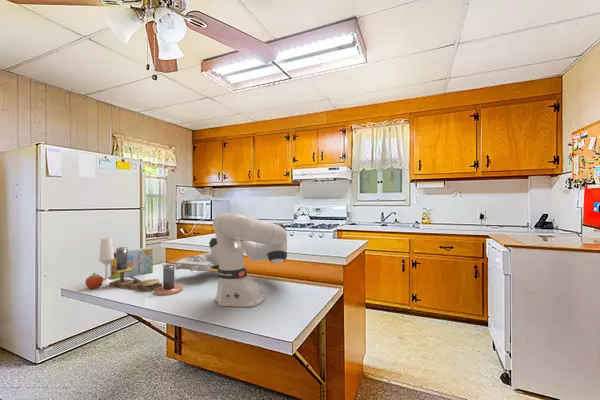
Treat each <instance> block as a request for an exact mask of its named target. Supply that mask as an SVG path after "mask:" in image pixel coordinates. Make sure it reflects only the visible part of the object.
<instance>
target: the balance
mask: <svg viewBox="0 0 600 400" xmlns="http://www.w3.org/2000/svg"><path fill="white" fill-rule="evenodd" d="M131 270H132V267H128V269H126V270H116V268H115V269H113V270H112V272H113V273H120V278H118V279H117V280H112V281H113V282H110V283H109V284H108V285H109V287H110V286H111V287H112V288H120V289H126V288H127V289H128V290H134V291H143V292H154V290H155V289H156V288H158V287H160V286H163V282H160V280H159V279H158V278H150V279H145V280H140V279H139V278H137V277H134V276H131V275H130V276H128V278H129V279H127V278H125V277H124V272H128V271H131ZM127 289H126V290H127Z"/></svg>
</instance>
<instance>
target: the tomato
mask: <svg viewBox="0 0 600 400" xmlns="http://www.w3.org/2000/svg"><path fill="white" fill-rule="evenodd" d="M103 281H104V277H103V276H102V275H99V274H97V273H96V272H93V273H92V274H91V275H89V276H88V277H87V278H86V279H85V281H84V282H85V285H86V287H87V288H88V289H89V290H98V289H100V287H101V286H102V285H103V284H102V283H103ZM97 288H98V289H97Z"/></svg>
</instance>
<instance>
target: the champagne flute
mask: <svg viewBox="0 0 600 400" xmlns="http://www.w3.org/2000/svg"><path fill="white" fill-rule="evenodd" d="M113 251H114V247H113V238H112V237H102V238H101V239H100V246H99V255H98V256H99V258H98V261H99V262H100V263H101V264H103V265H104V267H105V268H104V269H105V270H104V273H105V278H104V279H103V283H102V285H108V284H107V283H110V282H113V281H114V280H113V279H109V265H110V263H111V262H112V261H113V259H114V253H113Z"/></svg>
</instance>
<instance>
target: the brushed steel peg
mask: <svg viewBox="0 0 600 400" xmlns="http://www.w3.org/2000/svg"><path fill="white" fill-rule="evenodd" d="M162 269H163V270H162V274H163V275H162V281H163V282H162V286H163V289H164V290H170V289H173V288H174V284H175V264H166V265H163V266H162Z"/></svg>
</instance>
